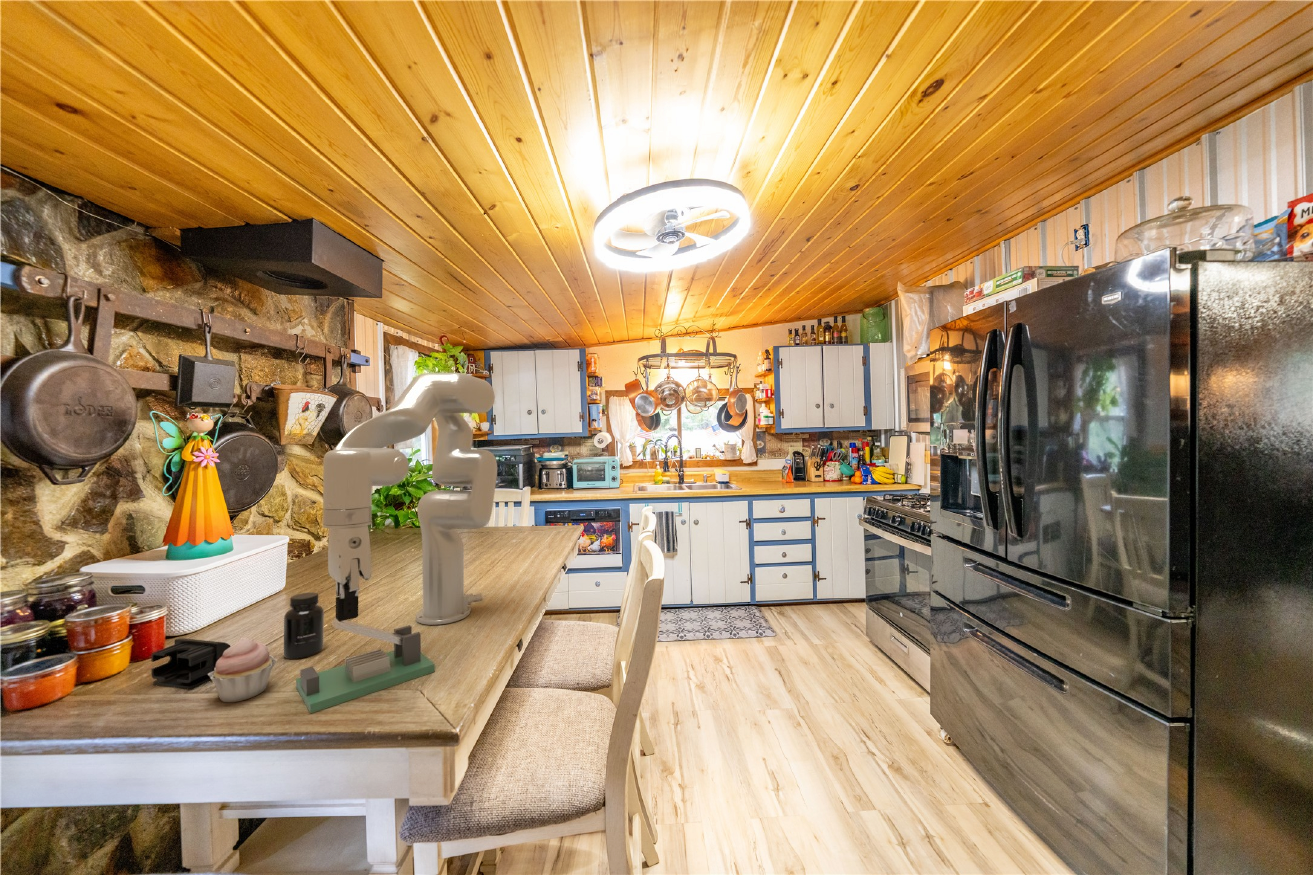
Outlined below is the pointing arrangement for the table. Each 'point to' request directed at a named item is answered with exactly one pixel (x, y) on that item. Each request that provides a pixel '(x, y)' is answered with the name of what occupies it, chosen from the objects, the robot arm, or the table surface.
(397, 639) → the grey long bar
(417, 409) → the robot arm
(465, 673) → the table surface
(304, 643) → the supplement bottle
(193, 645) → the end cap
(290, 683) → the table surface
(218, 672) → the cupcake
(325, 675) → the board
